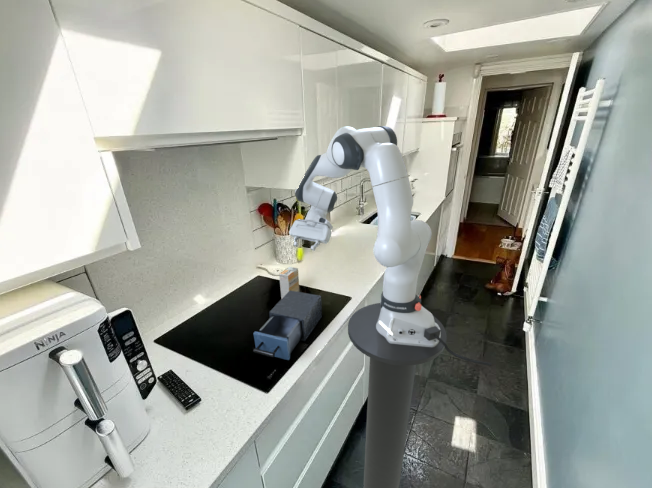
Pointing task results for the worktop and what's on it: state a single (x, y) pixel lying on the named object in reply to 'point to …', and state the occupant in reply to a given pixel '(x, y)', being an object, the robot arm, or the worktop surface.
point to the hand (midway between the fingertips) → (303, 248)
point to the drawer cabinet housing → (300, 310)
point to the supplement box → (289, 281)
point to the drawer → (278, 337)
